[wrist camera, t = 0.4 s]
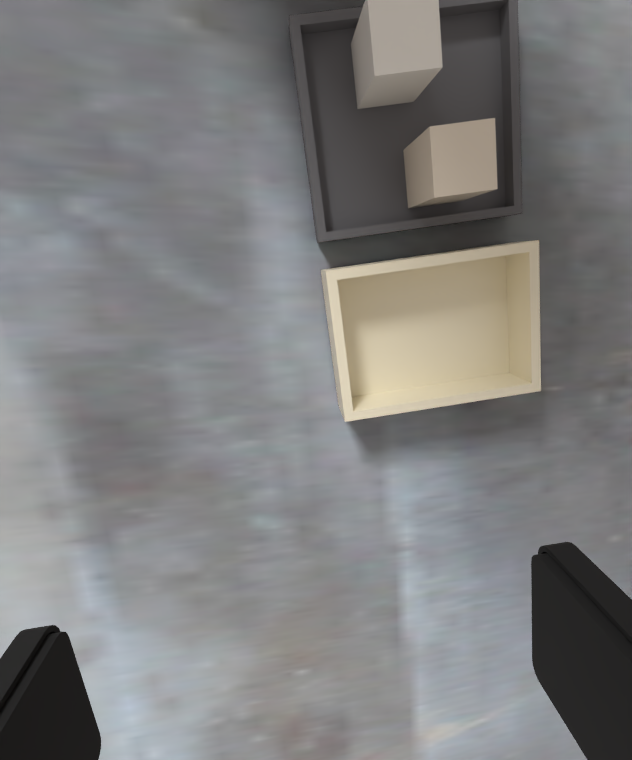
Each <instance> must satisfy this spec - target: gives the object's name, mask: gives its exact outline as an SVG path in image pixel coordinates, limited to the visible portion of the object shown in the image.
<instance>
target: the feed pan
mask: <svg viewBox="0 0 632 760" xmlns="http://www.w3.org/2000/svg"><path fill="white" fill-rule="evenodd" d="M362 8H363V6H362V7H354V8H346V9H338V10H330V11H321V12H313V13H305V14H297V15H289V34H290V42H291V49H292V57H293V64H294V72H295V80H296V87H297V95H298V102H299V110H300V118H301V125H302V133H303V140H304V148H305V155H306V163H307V171H308V178H309V186H310V193H311V201H312V209H313V216H314V224H315V231H316V239H317V243H320V242H327V241H334V240H341V239H348V238H355V237H362V236H369V235H376V234H384V233H391V232H398V231H405V230H412V229H419V228H426V227H433V226H440V225H447V224H454V223H461V222H468V221H475V220H482V219H489V218H496V217H503V216H510V215H516V214H521V213H522V177H521V131H520V84H519V38H518V0H439V14H440V31H441V48H442V65H443V67H442V69H441V70H440V71H439V72H438V73H437V75H436V76H435V77H434V78H433V79H432V81H431V82H430V83H429V84H428V85H427V86H426V88H425V89H424V90H423V91H422V92H421V94H420V95H419V96H418V97H417V98H416V99H415V101H414V102H408V103H401V104H393V105H385V106H378V107H370V108H362V109H357V99H356V89H355V80H354V70H353V60H352V50H351V42H352V39H353V36H354V33H355V30H356V27H357V23H358V20H359V17H360V14H361V11H362ZM490 118H495V130H496V159H497V188H498V189H496V190H493V191H490V192H487V193H484V194H481V195H478V196H475V197H472V198H469V199H466V200H463V201H458V202H451V203H444V204H437V205H430V206H423V207H415V208H408V201H407V188H406V176H405V164H404V152H403V150H404V149H405V148H406V147H407V146H408V145H409V144H411V143H412V142H413V141H414V140H415V139H416V138H417V137H418V136H420V135H421V134H422V133H423V132H424V131H425V130H426V129H427V128H428V127H430V126H437V125H445V124H452V123H460V122H467V121H475V120H482V119H490Z"/></svg>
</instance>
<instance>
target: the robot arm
mask: <svg viewBox="0 0 632 760" xmlns="http://www.w3.org/2000/svg"><path fill="white" fill-rule="evenodd" d="M531 568H532V661H533V667H534V670H535V673H536V676H537V678H538V680H539V682H540V684H541V685H542V687H543V689H544V690H545V692H546V693H547V695H548V697H549V698H550V700H551V702H552V703H553V705H554V706H555V708H556V710H557V711H558V713H559V714H560V716H561V718H562V719H563V721H564V723H565V724H566V726H567V727H568V729H569V731H570V732H571V734H572V735H573V737H574V739H575V740H576V742H577V744H578V745H579V747H580V748H581V750H582V752H583V753H584V755H585V756H586V758H587V760H632V600H631V599H630V598H629V597H628V596H627V595H626V594H625V593H624V592H623V591H622V590H621V589H620V588H619V587H618V586H617V585H616V584H615V583H614V582H613V581H612V580H611V579H610V578H608V577H607V576H606V575H605V574H604V573H603V572H602V571H601V570H600V569H599V568H598V567H597V566H596V565H595V564H594V563H593V562H592V561H591V560H590V559H589V558H588V557H587V556H586V555H584V554H583V553H582V552H581V551H580V550H579V549H578V548H577V547H576V546H575V545H574V544H572V543H570V542H564V543H558V544H551V545H545V546H541V547H540V548H539V550H538V555H534V556H533V557H532V561H531ZM100 749H101V737H100V733H99V729H98V726H97V723H96V720H95V717H94V714H93V711H92V708H91V704H90V701H89V698H88V695H87V692H86V689H85V686H84V683H83V679H82V676H81V673H80V670H79V667H78V664H77V661H76V658H75V654H74V651H73V648H72V645H71V642H70V639H69V636H68V634H67V633H66V632H60V630H59V628H58V627H57V626H55V625H51V626H44V627H38V628H32V629H26V630H23V631H21V632H20V633H19V634H18V635H17V636H16V637H15V639H14V640H13V641H12V643H11V644H10V646H9V647H8V649H7V650H6V651H5V653H4V654H3V656H2V657H1V659H0V760H98V759H99V755H100Z"/></svg>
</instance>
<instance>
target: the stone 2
mask: <svg viewBox="0 0 632 760" xmlns="http://www.w3.org/2000/svg"><path fill="white" fill-rule="evenodd" d="M403 152H404V164H405V176H406V188H407V201H408V208H415V207H423V206H430V205H437V204H444V203H451V202H458V201H463V200H466V199H469V198H472V197H475V196H478V195H481V194H484V193H487V192H490V191H493V190H496V189H498V188H497V159H496V130H495V118H490V119H482V120H475V121H467V122H460V123H452V124H445V125H437V126H430V127H428V128H427V129H426V130H425V131H424V132H423V133H422V134H421V135H420V136H418V137H417V138H416V139H415V140H414V141H413V142H412V143H411V144H409V145H408V146H407V147H406V148H405V149H404V150H403Z"/></svg>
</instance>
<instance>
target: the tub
mask: <svg viewBox="0 0 632 760" xmlns="http://www.w3.org/2000/svg"><path fill="white" fill-rule="evenodd" d="M321 277H322V284H323V292H324V300H325V307H326V315H327V322H328V330H329V338H330V345H331V353H332V360H333V368H334V375H335V383H336V391H337V398H338V406H339V408H340V411H341V413H342V415H343V418H344V420H345V422H347V421H354V420H360V419H366V418H373V417H379V416H385V415H392V414H398V413H404V412H411V411H417V410H424V409H430V408H436V407H443V406H449V405H455V404H462V403H468V402H474V401H481V400H487V399H493V398H500V397H506V396H512V395H519V394H525V393H531V392H538V391H541V355H540V278H539V240H536V241H523V242H511V243H504V244H497V245H490V246H483V247H476V248H469V249H462V250H456V251H449V252H442V253H435V254H428V255H421V256H414V257H407V258H400V259H393V260H386V261H379V262H372V263H365V264H358V265H351V266H344V267H338V268H331V269H324V270H321Z"/></svg>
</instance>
